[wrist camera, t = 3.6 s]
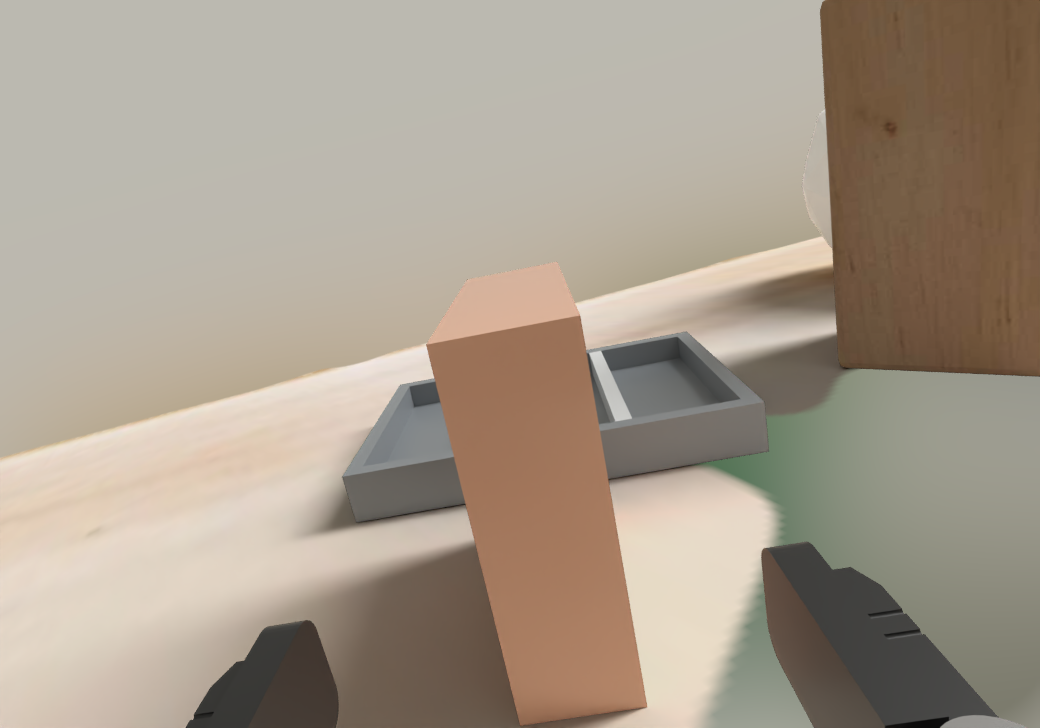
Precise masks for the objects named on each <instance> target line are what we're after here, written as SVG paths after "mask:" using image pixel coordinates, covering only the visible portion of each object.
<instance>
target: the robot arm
mask: <svg viewBox="0 0 1040 728" xmlns="http://www.w3.org/2000/svg"><path fill="white" fill-rule="evenodd" d="M761 558H762V570H763V581H764V592H765V602H766V613H767V623H768V629H769V633H770V637H771V641H772V644H773V647H774V650H775V653H776V656H777V658H778V660H779V662H780V664H781V666H782V668H783V670H784V672H785V674H786V676H787V678H788V680H789V681H790V683H791V685H792V687H793V689H794V691H795V693H796V695H797V697H798V698H799V700H800V702H801V704H802V706H803V707H804V710H805V711H806V713H807V715H808V717H809V719H810V721H811V723H812V725H813V727H814V728H1027V727H1025V726H1023V725H1020V724H1017V723H1014V722H1012V721H1009V720H1005V719H1001V718H999V717H998V716H997V715H995V713H994V712H993V711H992V710H991V709H990V708H989V706H988V705H987V704H986V703H985V702H984V701H983V700H982V699H981V698H980V696H979V695H978V694H977V693H976V692H975V691H974V690H973V688H972V687H971V686H970V685H969V684H968V683H967V682H966V681H965V679H964V678H963V677H962V676H961V675H960V674H959V673H958V672H957V670H956V669H955V668H954V667H953V666H952V665H951V664H950V662H949V661H948V660H947V659H946V658H945V657H944V656H943V655H942V653H941V652H940V651H939V650H938V649H937V648H936V647H935V646H934V645H933V643H932V642H931V641H930V640H929V639H928V638H927V637H926V635H924V634H923V635H922V634H921V632H920V629H919V627H918V626H917V625H916V624H915V623H914V622H913V621H912V620H911V619H910V617H909V616H908V615H907V614H904V613H903V611H902V608H901V607H900V606H899V605H898V604H897V603H896V602H895V600H894V599H893V598H892V597H891V596H890V595H889V594H888V593H887V591H886V590H885V589H884V588H883V587H882V586H881V585H880V584H878V583H876V582H875V581H873V580H871V579H870V578H868V577H866V576H865V575H863V574H861V573H859V572H858V571H856V570H854V569H853V568H851V567H849V568H842V569H835V570H832V569H831V568H830V566H829V565H828V564H827V563H826V561H825V560H824V559H823V557H822V556H821V555H820V554H819V552H818V551H817V550H816V549H815V547H814V546H813V545H812V544H810V543H809V542H802V543H796V544H789V545H783V546H776V547H770V548H764V549H763V550H762V557H761ZM337 718H338V693H337V688H336V684H335V682H334V679H333V676H332V673H331V670H330V667H329V664H328V661H327V658H326V656H325V653H324V650H323V647H322V644H321V641H320V638H319V635H318V632H317V630H316V627H315V626H314V624H313V623H312V622H311V621H308V620H306V621H300V622H294V623H288V624H281V625H275V626H269V627H266V628H265V629H264V630H263V631H262V632H261V633H260V635H259V637H258V638H257V640H256V642H255V644H254V645H253V647H252V649H251V650H250V652H249V654H248V655H247V657H246V659H245V661H240V662H236V663H235V664H234V665H233V666H232V667H231V668H230V669H229V670H228V671H227V672H226V673H225V674H224V675H223V676H222V677H221V678H220V679H219V680H218V681H217V682H216V683H215V684H214V685H213V686H212V687H211V688H210V689H209V691H208V693H207V694H206V696H205V697H204V699H203V701H202V702H201V704H200V705H199V707H198V709H197V710H196V712H195V713H194V719H193V720H190V721H189V723H188V725H187V726H186V728H335V727H336V724H337Z"/></svg>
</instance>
